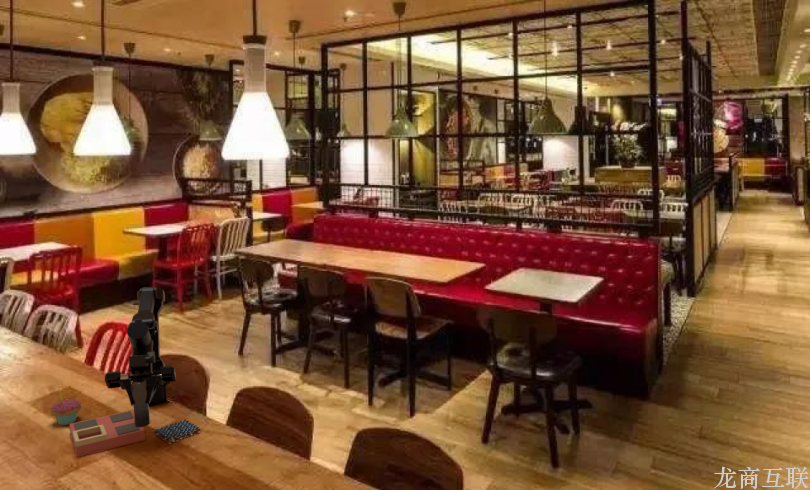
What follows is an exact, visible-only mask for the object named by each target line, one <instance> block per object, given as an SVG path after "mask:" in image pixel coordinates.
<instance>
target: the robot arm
mask: <svg viewBox="0 0 810 490" xmlns="http://www.w3.org/2000/svg"><path fill="white" fill-rule="evenodd" d="M136 295H137V296H136V297H137V300H136V302H137V303H138V310H137V312H136V313H135V314H134V315H133V316H132V319H131V322H129V323H128V327H127V330H126V334H127V337H128V340H129V343H130V345H131V346H132V347H131V356H128V370H129V373H130V374H129V373H121V372H122V371H120V370H115V371H107V372H106V373H105V375H104V382H105V385H106V387H107V389H118V388H121V390H125V391H126V394H127V396H128V399H129V402H130V406H131V407H133V394H132V381H134V380H137V379H146V380H147V390H148V398H147V403H148V404H149V408H150V407H154V406H157V405H159V406H160V405H163V404H168V403H169V400H168V397H167V386H168V385H170V384H171V383H173V382H176V380H177V373H176V369H175V368H176V367H174V365H166V364H165V362H164V360H163V359H162V357H161V351H160V348H161V347H160V317H159V316H160V314H161V312H162V310H163V308H164V302H166V294H165V291H164V289H162V288H158V287H154V286H147V287H141V288H139V290H137V291H136Z"/></svg>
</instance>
